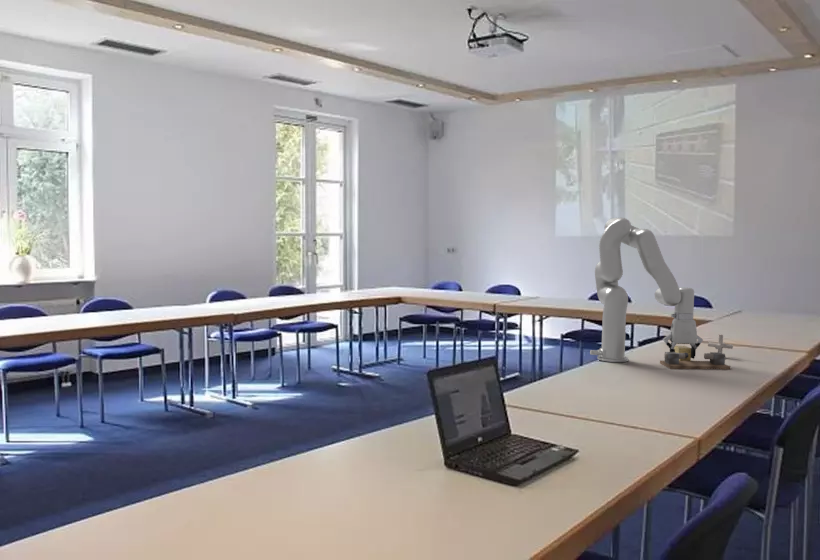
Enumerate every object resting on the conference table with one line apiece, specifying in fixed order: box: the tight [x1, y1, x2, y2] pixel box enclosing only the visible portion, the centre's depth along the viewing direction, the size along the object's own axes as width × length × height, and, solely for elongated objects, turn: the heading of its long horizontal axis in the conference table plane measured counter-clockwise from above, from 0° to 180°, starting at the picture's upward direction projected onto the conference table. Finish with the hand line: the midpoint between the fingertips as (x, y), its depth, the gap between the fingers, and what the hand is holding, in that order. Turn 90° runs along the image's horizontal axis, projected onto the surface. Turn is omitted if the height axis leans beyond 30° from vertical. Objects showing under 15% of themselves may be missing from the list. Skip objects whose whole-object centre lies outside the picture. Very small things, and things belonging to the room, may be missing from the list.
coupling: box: [674, 345, 692, 361], centre depth 314 cm, size 7×4×6 cm, turn 1°
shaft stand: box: [659, 351, 731, 370], centre depth 301 cm, size 24×12×5 cm, turn 91°
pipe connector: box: [707, 333, 734, 353], centre depth 324 cm, size 10×10×10 cm
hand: (682, 357), depth 314 cm, fingers open, 7 cm apart
